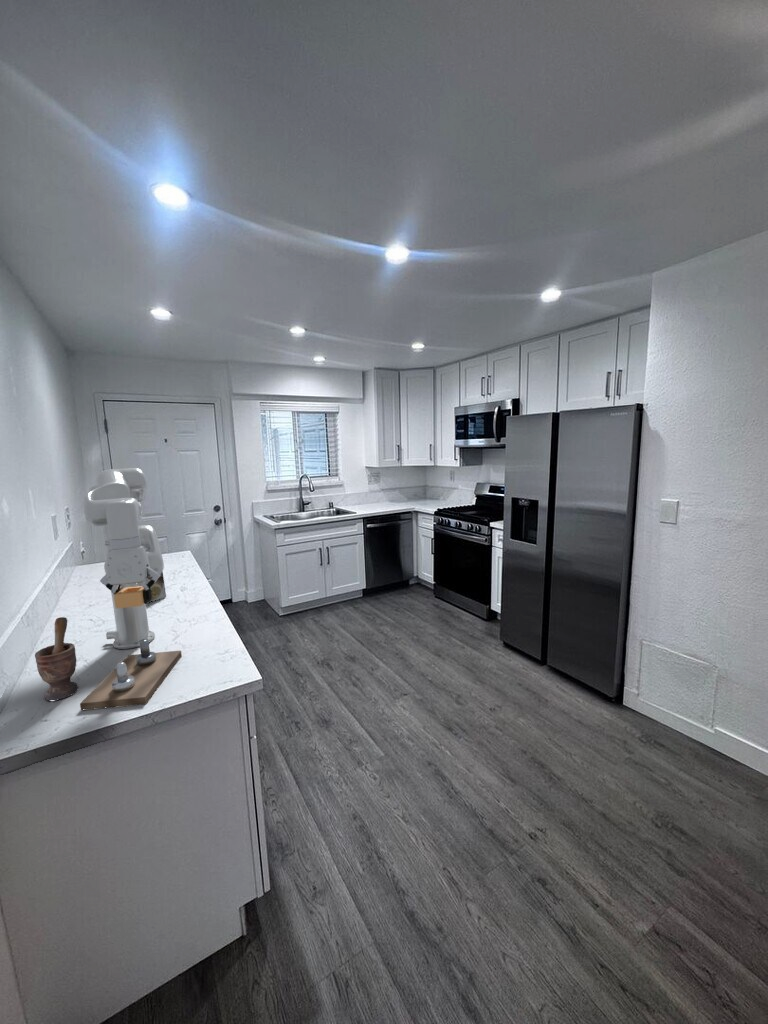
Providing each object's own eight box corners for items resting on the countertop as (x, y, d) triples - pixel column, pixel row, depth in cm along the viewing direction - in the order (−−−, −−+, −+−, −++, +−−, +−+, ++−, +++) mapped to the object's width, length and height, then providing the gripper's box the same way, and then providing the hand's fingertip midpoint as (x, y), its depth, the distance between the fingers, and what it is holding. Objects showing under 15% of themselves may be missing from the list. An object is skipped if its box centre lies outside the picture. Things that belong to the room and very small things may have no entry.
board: (81, 710, 109) (79, 703, 109) (129, 661, 135) (128, 655, 134) (146, 704, 111) (145, 696, 110) (181, 656, 136) (180, 650, 136)
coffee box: (159, 595, 197) (155, 561, 195) (166, 597, 194) (162, 563, 191) (139, 601, 190) (134, 566, 188) (146, 604, 186) (141, 568, 184)
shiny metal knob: (133, 667, 126) (130, 645, 125) (141, 658, 132) (138, 637, 131) (151, 665, 127) (148, 643, 126) (159, 657, 132) (156, 636, 131)
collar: (115, 608, 120) (113, 594, 119) (127, 600, 126) (125, 587, 126) (141, 606, 120) (139, 592, 120) (151, 598, 127) (149, 585, 126)
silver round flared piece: (109, 693, 113) (105, 668, 112) (118, 683, 118) (115, 659, 117) (129, 691, 113) (126, 666, 112) (138, 681, 118) (135, 657, 117)
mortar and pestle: (43, 688, 121) (31, 622, 118) (79, 677, 126) (69, 613, 123) (42, 706, 112) (29, 635, 109) (82, 693, 117) (71, 625, 114)
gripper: (85, 548, 116) (95, 611, 119) (152, 543, 118) (160, 605, 121) (100, 543, 123) (108, 602, 126) (162, 538, 126) (170, 596, 128)
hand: (134, 602), depth 123 cm, fingers closed on collar, 6 cm apart
